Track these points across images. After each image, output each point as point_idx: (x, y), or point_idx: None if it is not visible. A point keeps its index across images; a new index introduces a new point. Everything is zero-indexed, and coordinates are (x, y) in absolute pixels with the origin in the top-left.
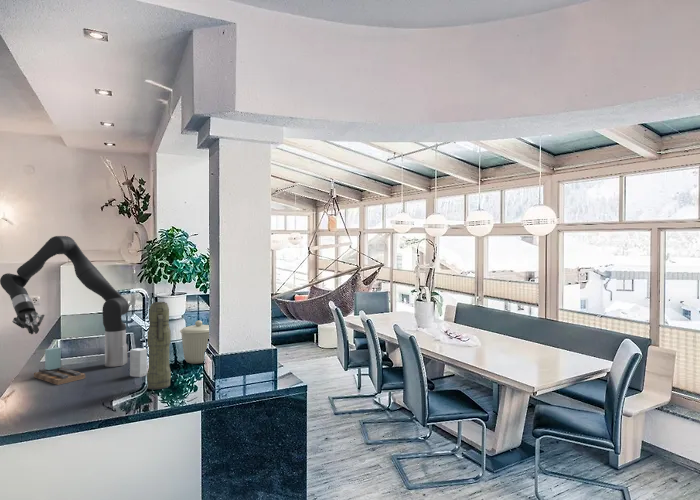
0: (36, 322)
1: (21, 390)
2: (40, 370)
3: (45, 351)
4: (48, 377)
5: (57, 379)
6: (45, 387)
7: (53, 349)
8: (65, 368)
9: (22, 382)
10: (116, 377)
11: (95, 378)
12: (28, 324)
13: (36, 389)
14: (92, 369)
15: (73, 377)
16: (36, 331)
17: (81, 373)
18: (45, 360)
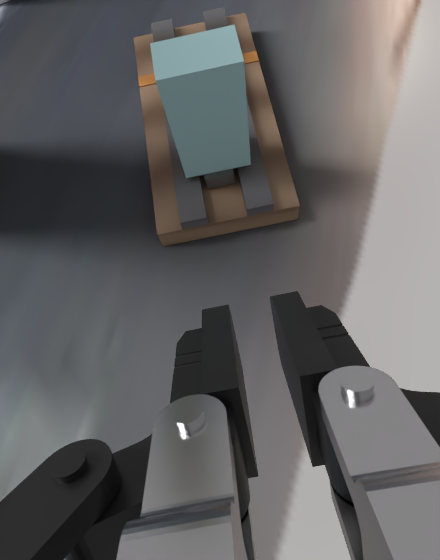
0: (158, 460)
1: (371, 41)
2: (269, 188)
3: (244, 71)
4: (262, 75)
5: (243, 22)
6: (289, 28)
7: (199, 35)
8: (151, 186)
9: (356, 156)
10: (62, 6)
11: (114, 35)
12: (382, 389)
13: (322, 23)
14: (49, 176)
15: (183, 30)
16: (230, 312)
17: (141, 51)
18: (247, 123)
